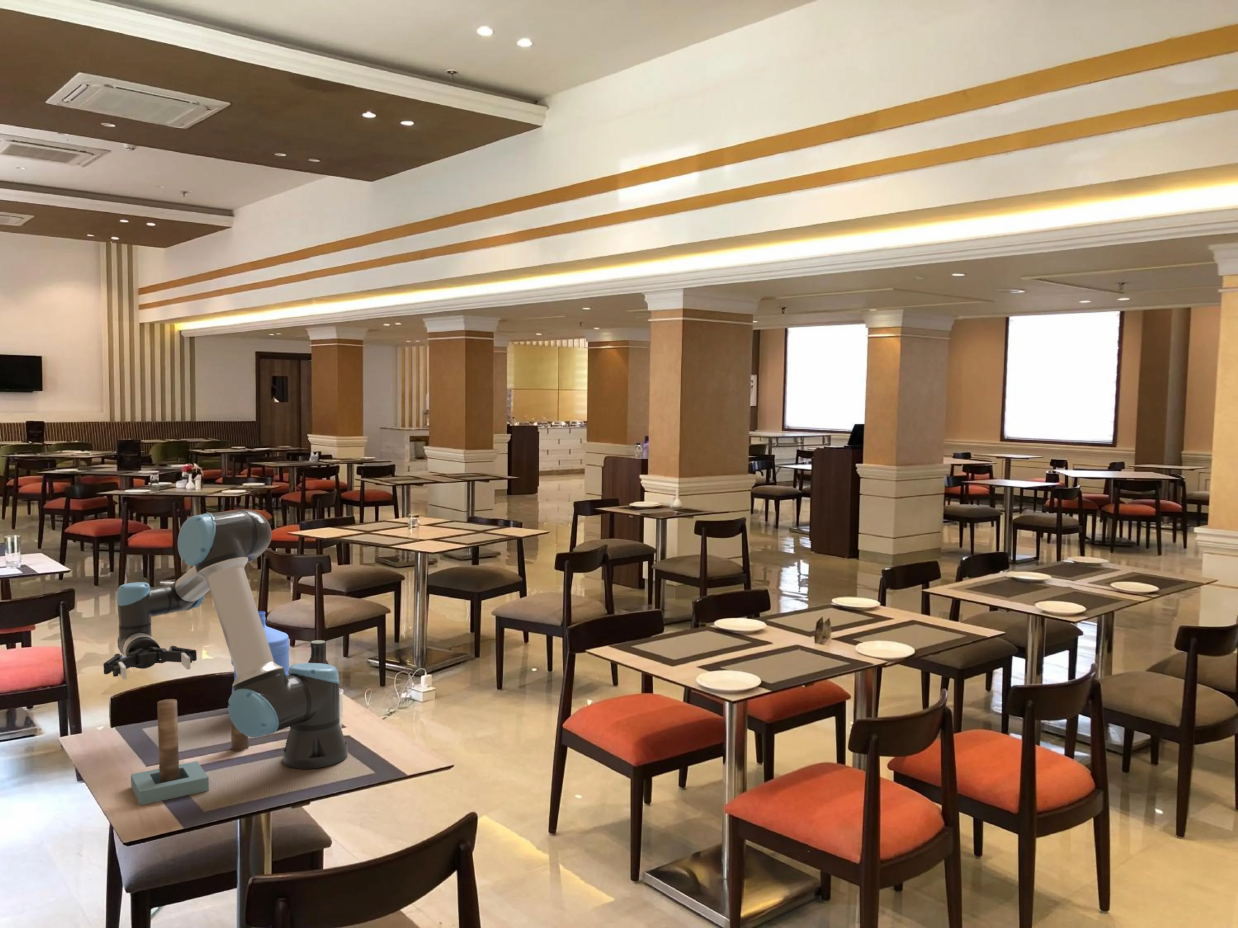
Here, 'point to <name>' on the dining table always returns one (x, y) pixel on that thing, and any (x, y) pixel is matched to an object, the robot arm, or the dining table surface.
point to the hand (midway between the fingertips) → (157, 668)
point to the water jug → (275, 646)
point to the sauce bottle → (318, 652)
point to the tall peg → (168, 740)
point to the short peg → (238, 739)
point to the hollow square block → (169, 784)
